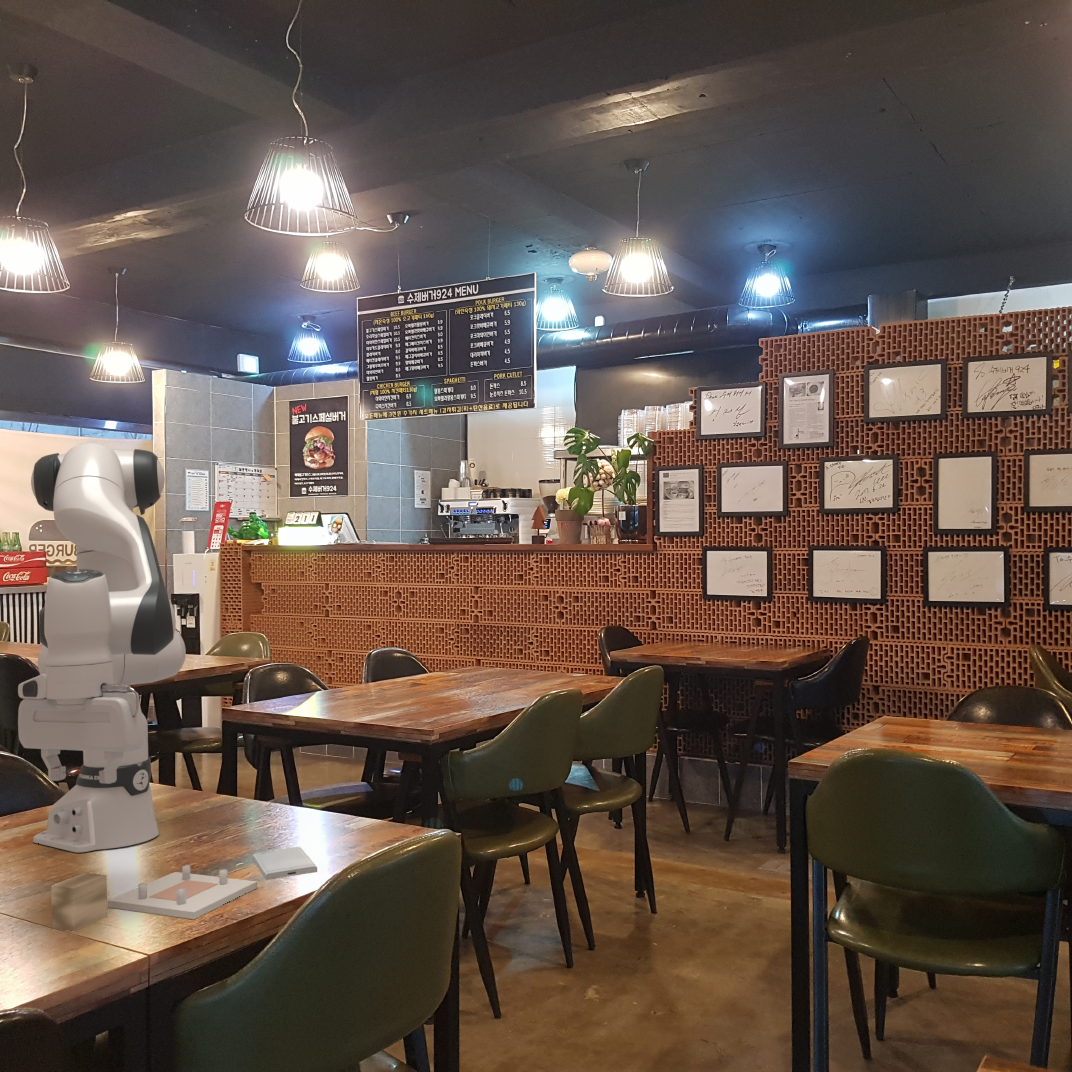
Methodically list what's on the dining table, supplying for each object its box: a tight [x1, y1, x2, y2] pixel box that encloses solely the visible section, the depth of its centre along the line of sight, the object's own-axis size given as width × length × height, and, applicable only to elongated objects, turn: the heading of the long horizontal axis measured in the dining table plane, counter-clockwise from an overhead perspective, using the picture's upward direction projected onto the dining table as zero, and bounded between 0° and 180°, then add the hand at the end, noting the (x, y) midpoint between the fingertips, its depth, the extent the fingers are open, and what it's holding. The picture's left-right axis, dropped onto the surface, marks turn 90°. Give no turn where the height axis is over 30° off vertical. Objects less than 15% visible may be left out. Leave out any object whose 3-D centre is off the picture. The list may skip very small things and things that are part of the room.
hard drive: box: [252, 846, 318, 881], centre depth 165 cm, size 2×8×12 cm
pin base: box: [107, 864, 258, 920], centre depth 151 cm, size 16×14×3 cm
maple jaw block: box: [50, 872, 108, 932], centre depth 141 cm, size 4×6×6 cm, turn 158°
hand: (82, 781), depth 142 cm, fingers open, 8 cm apart
